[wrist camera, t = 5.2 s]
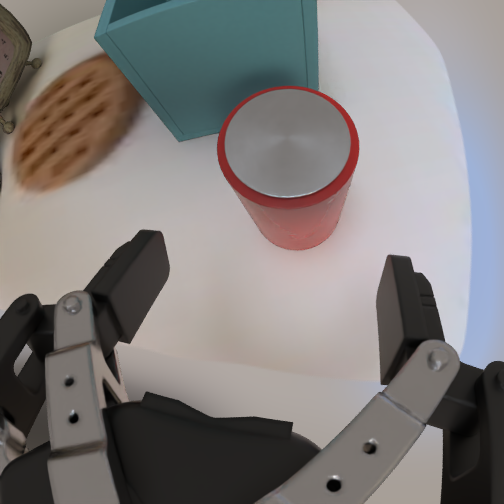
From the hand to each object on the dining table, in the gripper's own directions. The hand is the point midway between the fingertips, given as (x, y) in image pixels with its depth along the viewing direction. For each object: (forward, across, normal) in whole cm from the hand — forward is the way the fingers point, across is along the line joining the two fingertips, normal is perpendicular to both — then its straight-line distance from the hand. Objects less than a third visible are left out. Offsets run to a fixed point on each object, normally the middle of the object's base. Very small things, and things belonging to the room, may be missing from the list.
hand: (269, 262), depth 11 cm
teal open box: (+21, +6, -5) cm, 22 cm away
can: (+12, 0, +4) cm, 13 cm away
